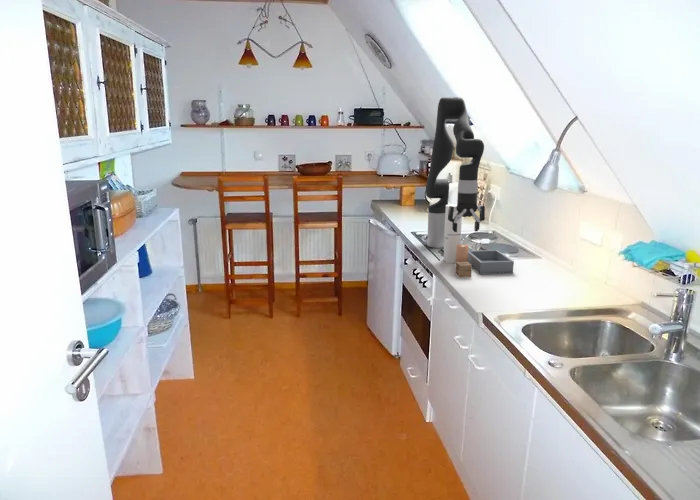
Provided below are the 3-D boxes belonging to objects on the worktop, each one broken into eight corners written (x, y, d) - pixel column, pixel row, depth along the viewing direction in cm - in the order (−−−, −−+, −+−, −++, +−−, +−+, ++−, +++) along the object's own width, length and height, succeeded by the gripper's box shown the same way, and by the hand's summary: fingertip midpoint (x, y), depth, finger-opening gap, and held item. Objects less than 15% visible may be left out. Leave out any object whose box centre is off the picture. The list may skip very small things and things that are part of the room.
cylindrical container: (455, 263, 218) (457, 207, 211) (440, 261, 222) (442, 206, 215) (462, 259, 223) (465, 205, 217) (447, 257, 227) (450, 203, 221)
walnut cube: (455, 273, 205) (456, 262, 203) (467, 273, 205) (467, 261, 204) (459, 277, 200) (459, 265, 199) (471, 276, 200) (471, 265, 199)
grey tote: (466, 261, 220) (466, 250, 219) (496, 260, 221) (497, 249, 220) (479, 274, 203) (480, 262, 202) (512, 273, 204) (513, 261, 203)
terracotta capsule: (453, 266, 213) (455, 244, 211) (465, 266, 214) (466, 244, 211) (457, 270, 209) (458, 247, 206) (468, 269, 209) (470, 247, 206)
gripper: (482, 189, 198) (479, 228, 202) (447, 190, 196) (445, 230, 201) (488, 192, 190) (486, 233, 195) (452, 192, 189) (450, 234, 193)
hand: (465, 231), depth 198 cm, fingers open, 8 cm apart
